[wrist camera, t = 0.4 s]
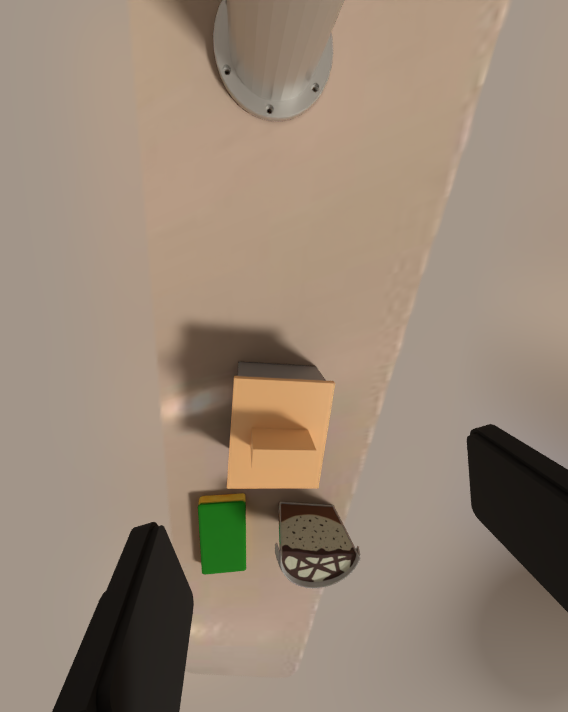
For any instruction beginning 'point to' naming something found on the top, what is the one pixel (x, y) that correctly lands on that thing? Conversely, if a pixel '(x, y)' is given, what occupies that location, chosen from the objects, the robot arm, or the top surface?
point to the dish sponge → (222, 533)
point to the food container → (314, 545)
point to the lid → (278, 432)
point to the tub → (279, 371)
